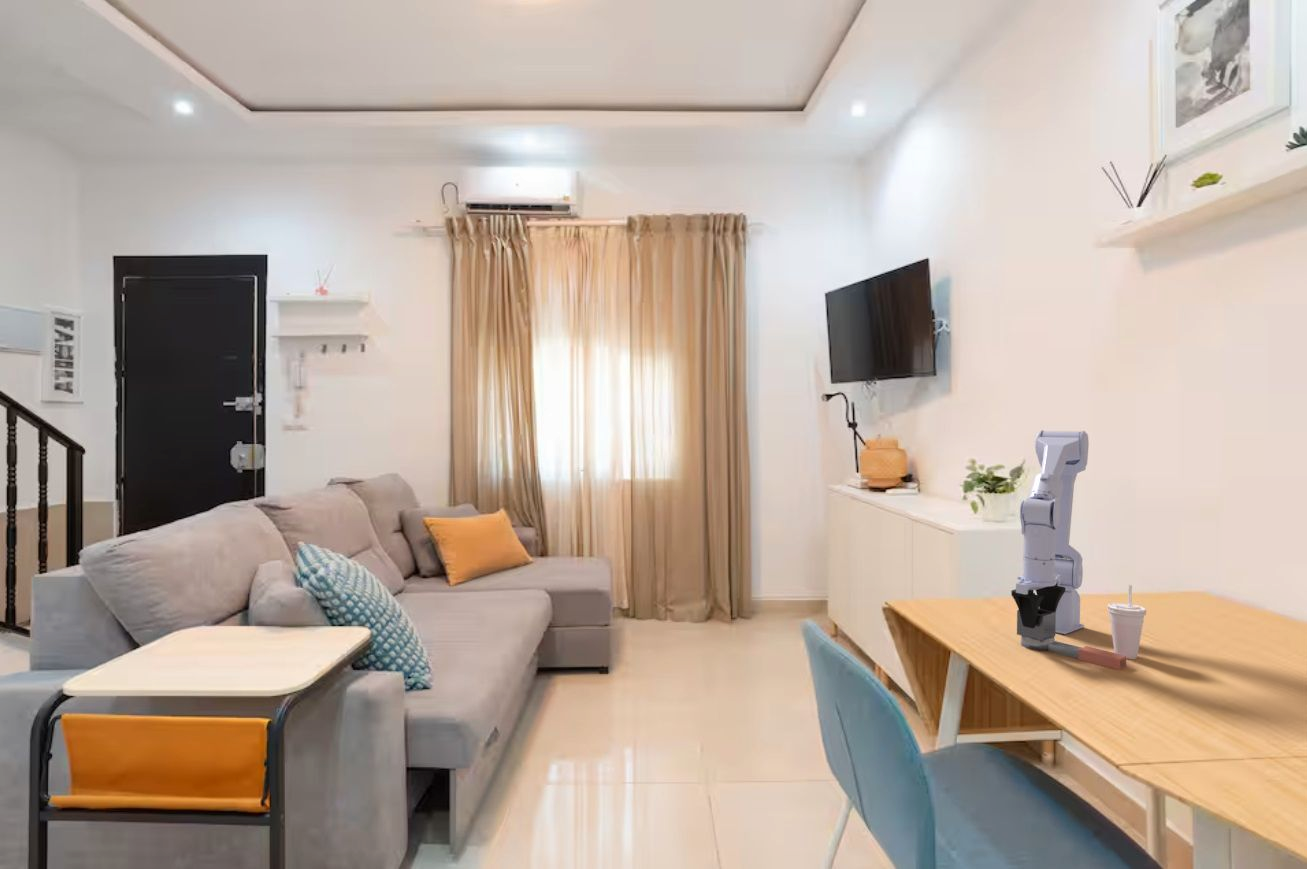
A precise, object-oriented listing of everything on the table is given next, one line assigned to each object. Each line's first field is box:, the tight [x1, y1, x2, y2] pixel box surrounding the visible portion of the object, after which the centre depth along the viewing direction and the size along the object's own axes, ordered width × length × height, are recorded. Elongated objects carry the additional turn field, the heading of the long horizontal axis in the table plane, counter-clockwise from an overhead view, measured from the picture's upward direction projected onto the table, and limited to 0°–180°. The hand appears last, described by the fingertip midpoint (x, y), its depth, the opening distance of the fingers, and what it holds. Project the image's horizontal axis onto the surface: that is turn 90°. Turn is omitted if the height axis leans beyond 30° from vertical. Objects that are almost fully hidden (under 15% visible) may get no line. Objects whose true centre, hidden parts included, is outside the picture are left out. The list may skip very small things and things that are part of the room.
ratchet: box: [1020, 635, 1127, 671], centre depth 140 cm, size 18×6×5 cm, turn 36°
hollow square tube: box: [1016, 608, 1056, 641], centre depth 145 cm, size 5×5×5 cm
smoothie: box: [1106, 584, 1147, 660], centre depth 139 cm, size 6×6×14 cm
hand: (1038, 623), depth 145 cm, fingers open, 7 cm apart
